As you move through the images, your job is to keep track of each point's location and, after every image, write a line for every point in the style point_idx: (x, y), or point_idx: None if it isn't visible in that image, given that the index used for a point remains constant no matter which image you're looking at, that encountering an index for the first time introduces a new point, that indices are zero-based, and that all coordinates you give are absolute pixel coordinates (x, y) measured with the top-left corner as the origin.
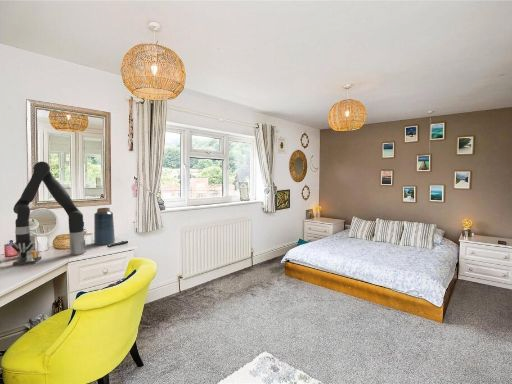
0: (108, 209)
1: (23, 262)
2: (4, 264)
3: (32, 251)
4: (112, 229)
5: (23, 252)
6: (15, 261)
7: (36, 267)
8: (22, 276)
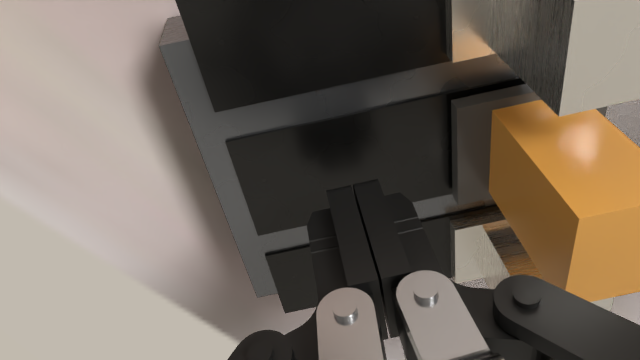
0: None
1: None
2: (42, 222)
3: (601, 259)
4: None
5: (396, 328)
6: (257, 260)
7: (629, 310)
8: None
